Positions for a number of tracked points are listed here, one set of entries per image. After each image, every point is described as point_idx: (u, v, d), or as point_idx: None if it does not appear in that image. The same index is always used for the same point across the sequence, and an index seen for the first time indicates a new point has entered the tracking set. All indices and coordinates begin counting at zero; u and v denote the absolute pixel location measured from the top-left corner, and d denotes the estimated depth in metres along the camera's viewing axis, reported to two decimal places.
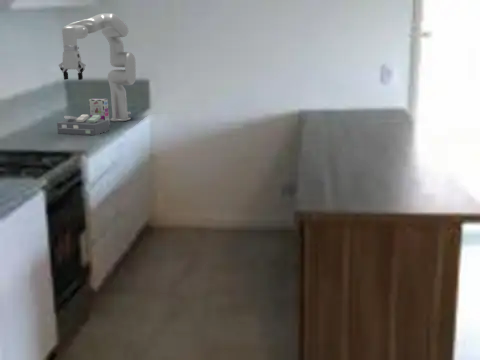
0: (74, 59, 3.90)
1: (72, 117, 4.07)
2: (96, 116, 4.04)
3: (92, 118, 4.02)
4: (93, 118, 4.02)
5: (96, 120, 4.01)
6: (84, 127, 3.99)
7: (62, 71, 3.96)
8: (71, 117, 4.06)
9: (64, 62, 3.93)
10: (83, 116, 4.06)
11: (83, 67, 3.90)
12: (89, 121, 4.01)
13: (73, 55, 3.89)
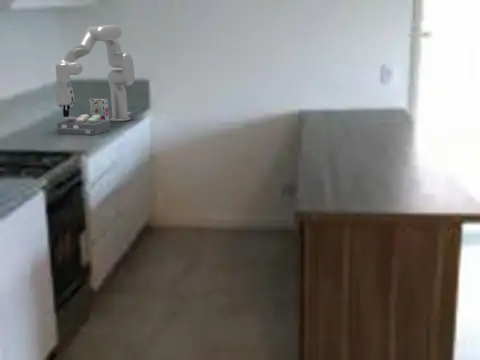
0: (67, 95, 3.99)
1: (72, 117, 4.07)
2: (96, 116, 4.04)
3: (92, 118, 4.02)
4: (93, 118, 4.02)
5: (96, 120, 4.01)
6: (84, 127, 3.99)
7: (62, 109, 4.04)
8: (71, 117, 4.06)
9: (57, 98, 4.02)
10: (83, 116, 4.06)
11: (70, 106, 4.02)
12: (89, 121, 4.01)
13: (66, 91, 3.98)
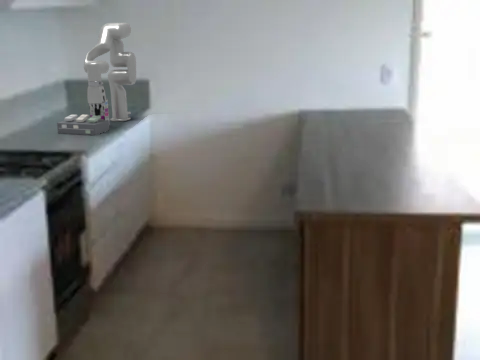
0: (99, 94, 4.00)
1: (72, 118, 4.07)
2: (96, 116, 4.04)
3: (92, 117, 4.02)
4: (93, 118, 4.02)
5: (96, 120, 4.01)
6: (84, 127, 3.99)
7: (93, 108, 4.05)
8: (71, 119, 4.06)
9: (89, 97, 4.03)
10: (83, 116, 4.06)
11: (102, 105, 4.03)
12: (89, 121, 4.01)
13: (98, 90, 3.99)
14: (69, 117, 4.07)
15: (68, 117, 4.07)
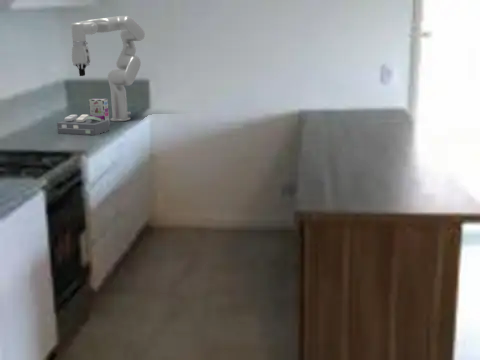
0: (83, 54, 4.07)
1: (72, 118, 4.07)
2: None
3: None
4: None
5: (96, 119, 4.01)
6: (84, 127, 3.99)
7: (78, 68, 4.12)
8: (71, 119, 4.06)
9: (73, 57, 4.10)
10: (83, 116, 4.06)
11: (86, 65, 4.10)
12: (89, 117, 4.00)
13: (82, 50, 4.06)
14: (69, 117, 4.07)
15: (68, 117, 4.07)
